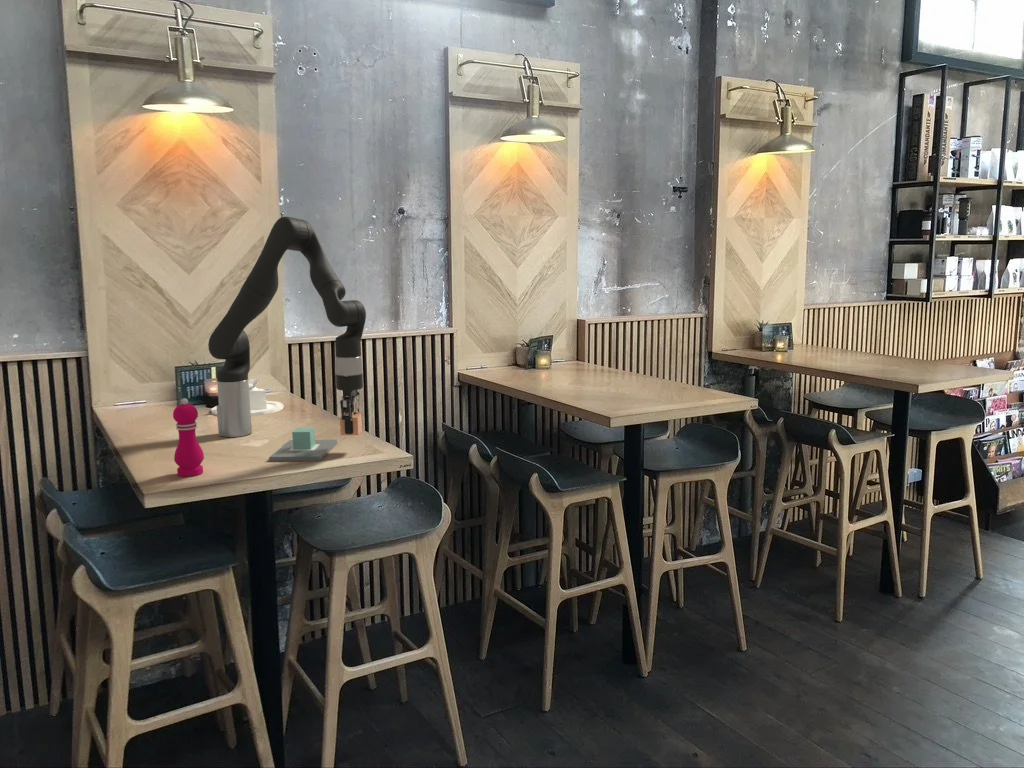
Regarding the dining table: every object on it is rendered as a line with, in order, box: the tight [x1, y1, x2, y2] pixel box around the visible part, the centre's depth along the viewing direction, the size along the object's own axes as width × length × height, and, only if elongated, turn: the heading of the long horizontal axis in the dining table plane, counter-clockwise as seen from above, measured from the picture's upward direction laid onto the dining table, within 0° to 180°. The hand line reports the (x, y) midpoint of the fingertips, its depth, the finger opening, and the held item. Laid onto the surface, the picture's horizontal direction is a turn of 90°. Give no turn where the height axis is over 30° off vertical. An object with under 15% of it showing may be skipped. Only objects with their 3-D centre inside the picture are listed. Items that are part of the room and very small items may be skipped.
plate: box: [268, 439, 338, 462], centre depth 241 cm, size 14×20×1 cm
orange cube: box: [339, 413, 363, 436], centre depth 240 cm, size 5×5×5 cm
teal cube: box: [291, 427, 316, 449], centre depth 241 cm, size 5×5×5 cm
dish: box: [210, 378, 285, 417], centre depth 305 cm, size 25×25×11 cm
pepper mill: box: [172, 397, 205, 478], centre depth 219 cm, size 7×7×20 cm
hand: (351, 431), depth 240 cm, fingers closed on orange cube, 5 cm apart
